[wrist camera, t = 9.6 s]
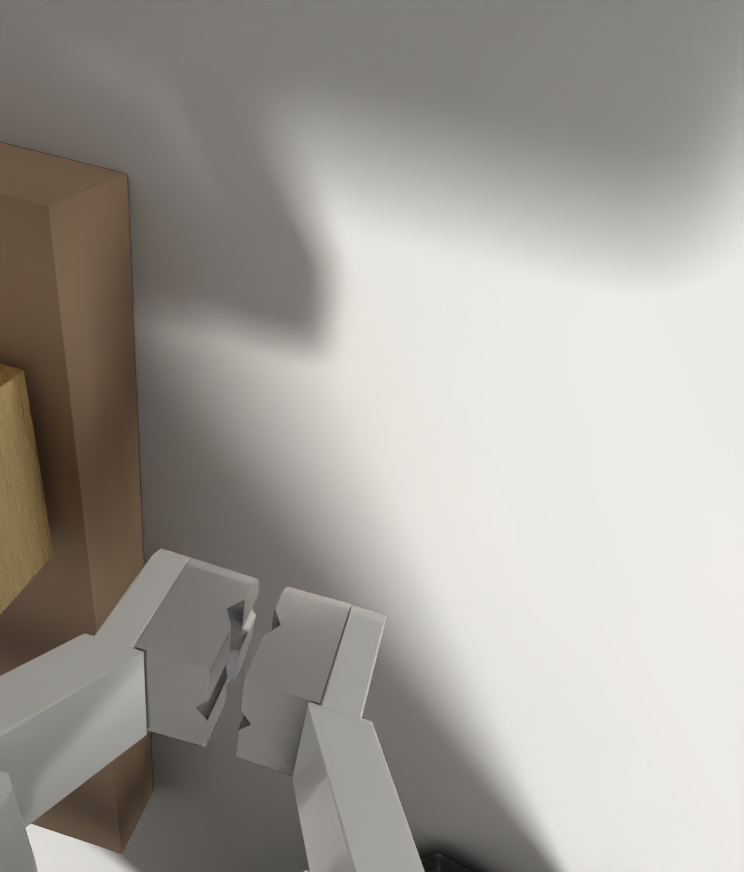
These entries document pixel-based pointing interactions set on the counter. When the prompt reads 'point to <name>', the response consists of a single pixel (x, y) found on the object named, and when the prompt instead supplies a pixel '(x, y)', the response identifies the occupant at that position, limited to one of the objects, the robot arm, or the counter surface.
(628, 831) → the counter surface
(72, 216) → the brown square board
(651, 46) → the counter surface
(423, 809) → the counter surface
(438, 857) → the graphics card box
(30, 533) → the block
